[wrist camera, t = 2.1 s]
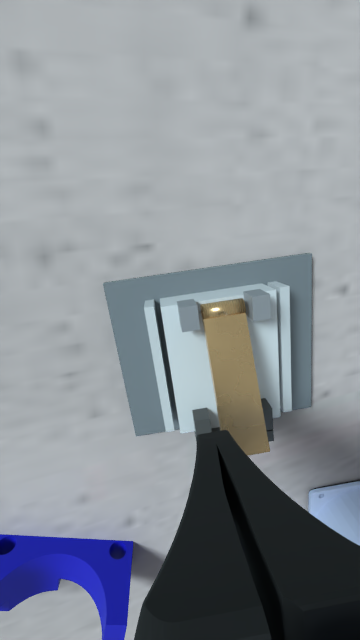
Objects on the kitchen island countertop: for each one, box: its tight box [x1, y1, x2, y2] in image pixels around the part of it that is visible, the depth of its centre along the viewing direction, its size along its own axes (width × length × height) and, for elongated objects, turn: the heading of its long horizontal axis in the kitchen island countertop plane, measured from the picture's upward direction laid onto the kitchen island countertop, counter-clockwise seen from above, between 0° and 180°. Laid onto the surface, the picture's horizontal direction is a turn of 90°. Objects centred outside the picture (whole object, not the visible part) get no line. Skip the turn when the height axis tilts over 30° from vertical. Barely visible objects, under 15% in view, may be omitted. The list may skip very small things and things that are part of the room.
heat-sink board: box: [103, 253, 312, 442], centre depth 19 cm, size 14×12×5 cm
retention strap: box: [200, 298, 270, 455], centre depth 16 cm, size 2×8×1 cm, turn 8°
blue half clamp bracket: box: [0, 534, 133, 640], centre depth 23 cm, size 12×4×6 cm, turn 79°
